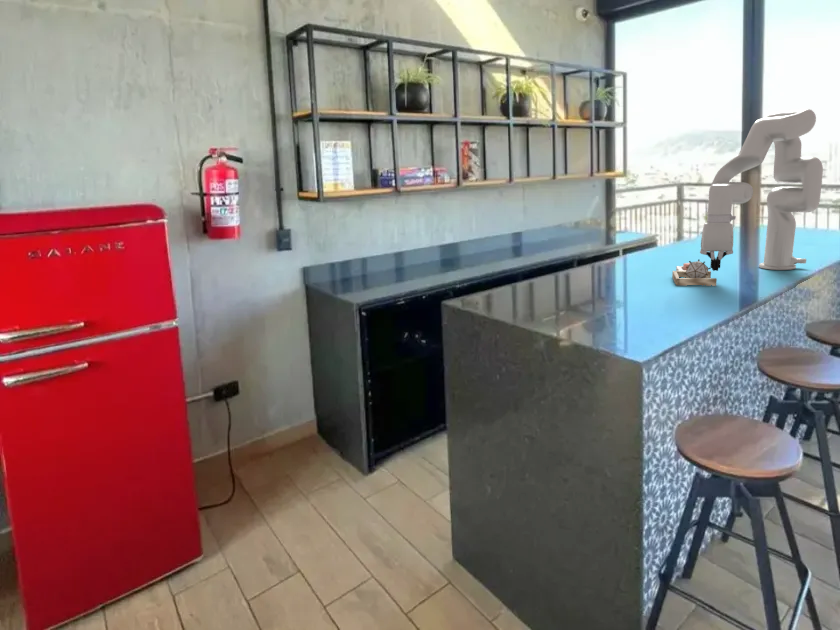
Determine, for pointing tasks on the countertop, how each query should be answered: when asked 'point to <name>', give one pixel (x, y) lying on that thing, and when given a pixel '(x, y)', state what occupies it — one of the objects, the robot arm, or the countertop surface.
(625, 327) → the countertop surface
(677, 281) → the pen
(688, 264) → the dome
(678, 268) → the collar
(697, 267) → the game die
